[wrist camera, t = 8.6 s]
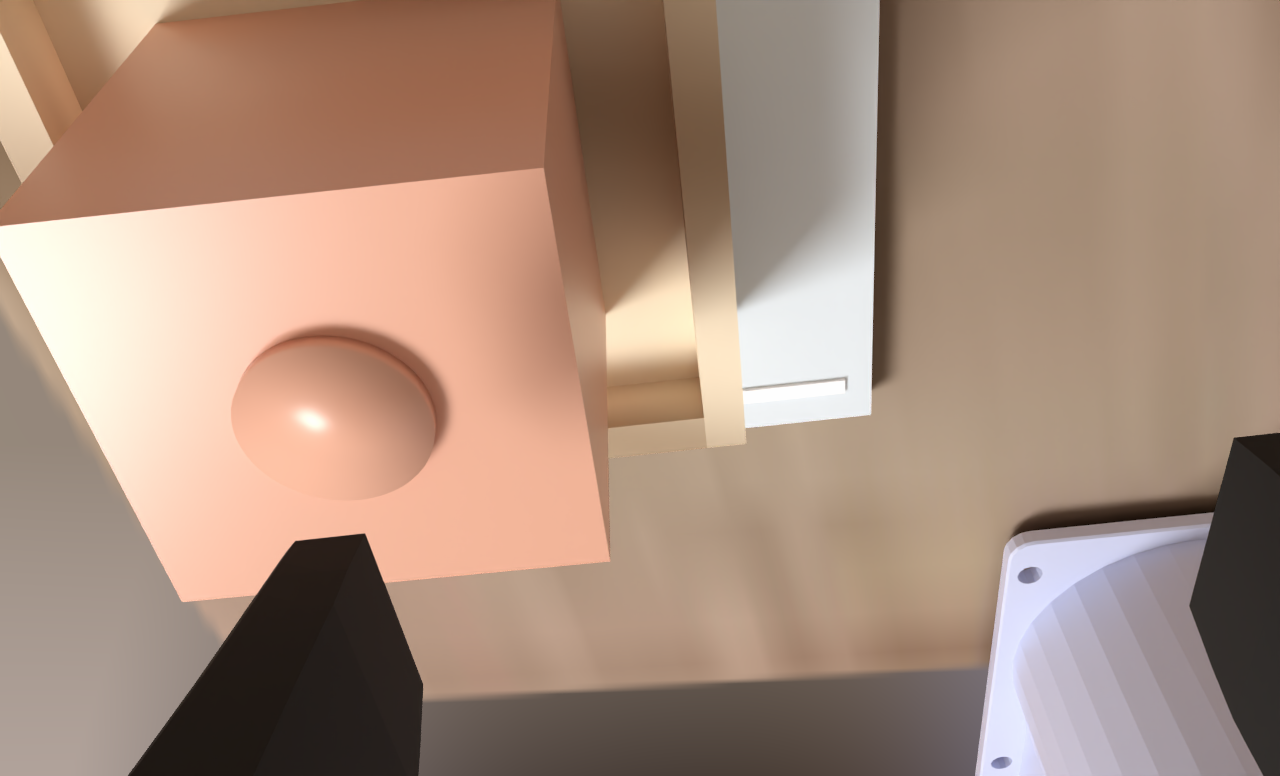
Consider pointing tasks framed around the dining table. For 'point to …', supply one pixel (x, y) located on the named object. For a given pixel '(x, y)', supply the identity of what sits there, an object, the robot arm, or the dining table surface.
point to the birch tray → (614, 167)
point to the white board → (802, 201)
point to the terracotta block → (333, 289)
